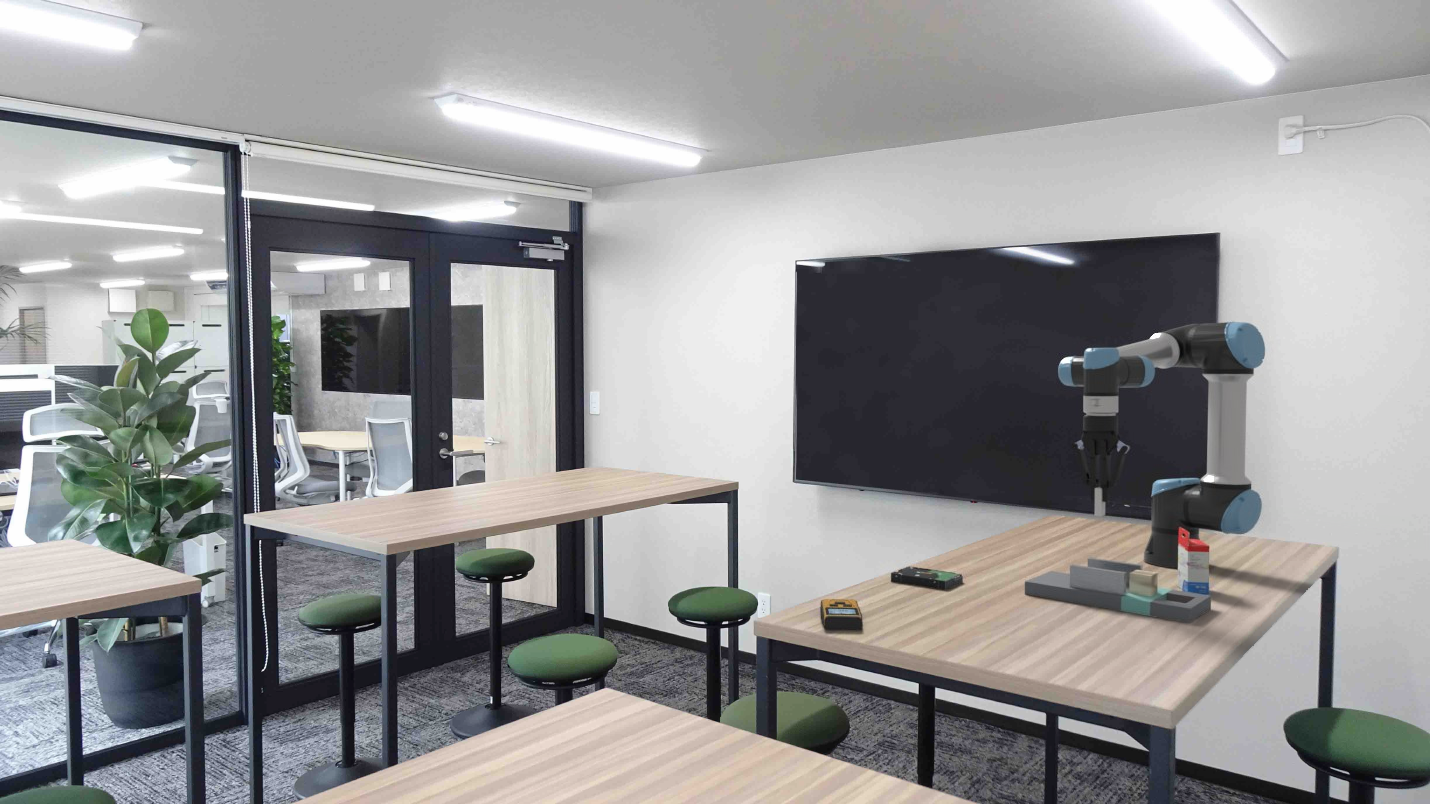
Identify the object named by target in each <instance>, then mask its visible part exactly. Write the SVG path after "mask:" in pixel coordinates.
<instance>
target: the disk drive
mask: <svg viewBox="0 0 1430 804" xmlns="http://www.w3.org/2000/svg"><path fill="white" fill-rule="evenodd" d="M963 579H964V578H963V574H961V573H956V572H952V571H943V570H938V569H932V568H931V569H929V568H923V567H917V566H907V567H903V568H900V569H898V571H893V572H891V573H890V582H892V583H899V584H904V585H905V584H906V585H913V586H919V587H925V588H929V589H936V590H937V589H938V590H944V591H947V590H949V589H952V588H953V587H956V586H958V585H960V584H962V583H963V581H964V580H963Z"/></svg>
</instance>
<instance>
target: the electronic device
mask: <svg viewBox="0 0 1430 804" xmlns="http://www.w3.org/2000/svg"><path fill="white" fill-rule="evenodd" d="M819 608H820V609H819V610H820V611H819V612H820V618H821V620H822V625H823V626H824V630H825V631H862V630H863V627H864V625H863V623H864V622H863V614H862V612H861V611H862V610H861V607H859V604H858V601H857V600H855V599H854V598H853V599H850V598H849V599H848V598H845V599H844V598H839V599H838V598H824V599H822V600H820V607H819Z"/></svg>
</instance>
